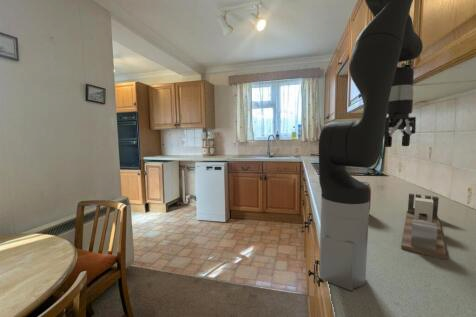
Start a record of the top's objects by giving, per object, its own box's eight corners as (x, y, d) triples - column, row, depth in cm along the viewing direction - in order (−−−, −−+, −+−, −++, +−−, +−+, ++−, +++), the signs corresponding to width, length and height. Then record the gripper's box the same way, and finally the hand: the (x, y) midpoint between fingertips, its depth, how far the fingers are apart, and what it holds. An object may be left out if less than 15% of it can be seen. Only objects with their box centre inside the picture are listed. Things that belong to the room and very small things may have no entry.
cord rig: (446, 259, 56) (449, 227, 55) (401, 248, 61) (402, 219, 60) (437, 218, 83) (439, 196, 82) (406, 213, 88) (408, 192, 88)
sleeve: (431, 223, 71) (433, 202, 70) (413, 220, 73) (415, 200, 73) (431, 220, 74) (432, 199, 73) (414, 217, 77) (415, 197, 76)
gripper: (394, 98, 74) (392, 148, 75) (425, 99, 78) (422, 146, 80) (374, 101, 81) (372, 146, 82) (403, 101, 85) (400, 145, 87)
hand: (396, 146), depth 81 cm, fingers open, 8 cm apart
